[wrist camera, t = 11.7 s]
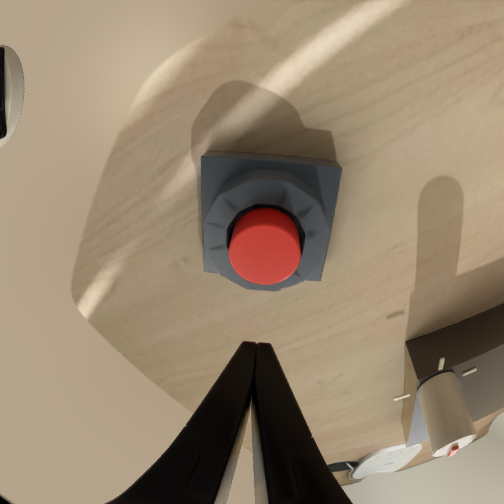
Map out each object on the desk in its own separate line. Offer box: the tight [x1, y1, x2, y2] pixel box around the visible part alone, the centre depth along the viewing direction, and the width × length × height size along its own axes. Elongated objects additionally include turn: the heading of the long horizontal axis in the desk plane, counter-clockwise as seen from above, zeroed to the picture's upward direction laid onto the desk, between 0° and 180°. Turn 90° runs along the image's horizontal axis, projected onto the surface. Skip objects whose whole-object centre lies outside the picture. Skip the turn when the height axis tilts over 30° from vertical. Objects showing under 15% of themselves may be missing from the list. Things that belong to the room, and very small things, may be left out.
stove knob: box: [418, 372, 477, 457], centre depth 16 cm, size 4×4×6 cm
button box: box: [201, 151, 342, 291], centre depth 16 cm, size 7×7×3 cm
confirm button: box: [228, 208, 301, 285], centre depth 14 cm, size 3×3×2 cm
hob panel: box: [393, 303, 504, 447], centre depth 22 cm, size 20×17×4 cm
